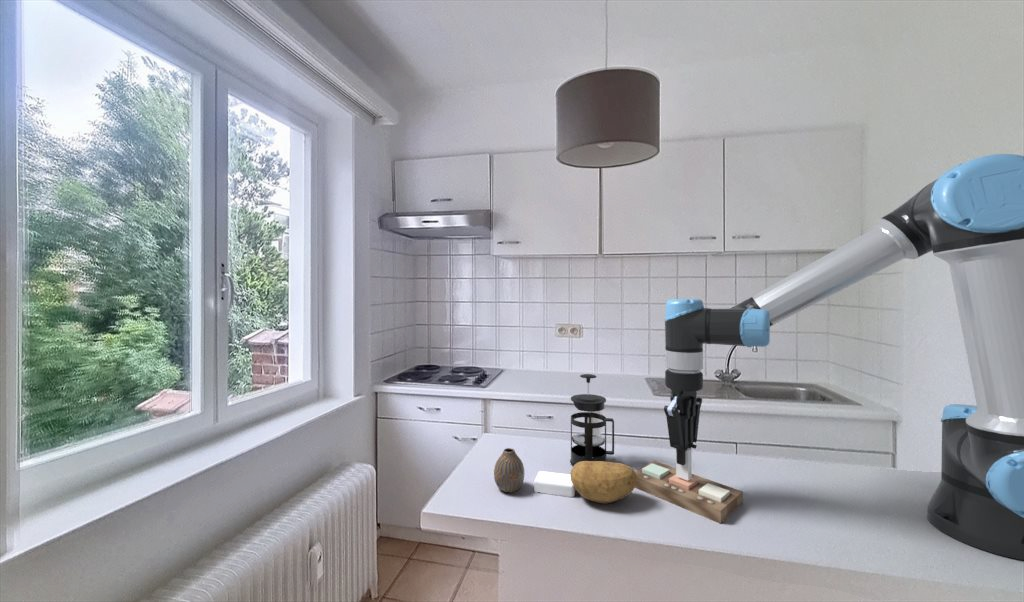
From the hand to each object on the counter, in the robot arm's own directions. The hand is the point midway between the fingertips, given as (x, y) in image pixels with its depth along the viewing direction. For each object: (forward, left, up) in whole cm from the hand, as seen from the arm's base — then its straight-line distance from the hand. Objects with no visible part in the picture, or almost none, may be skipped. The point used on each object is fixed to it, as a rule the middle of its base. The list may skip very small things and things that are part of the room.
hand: (683, 477), depth 87 cm
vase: (+27, +27, -4) cm, 38 cm away
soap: (+20, +19, -4) cm, 28 cm away
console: (0, 0, -4) cm, 4 cm away
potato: (+10, +15, -4) cm, 18 cm away
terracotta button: (0, 0, -3) cm, 3 cm away
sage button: (+7, 0, -3) cm, 7 cm away
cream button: (-6, 0, -3) cm, 7 cm away
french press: (+23, +3, -4) cm, 24 cm away
